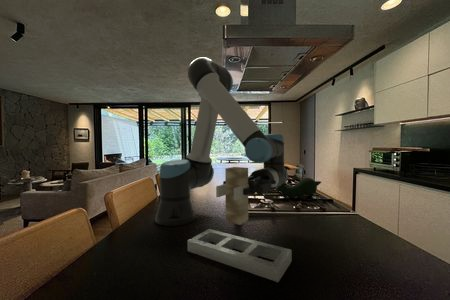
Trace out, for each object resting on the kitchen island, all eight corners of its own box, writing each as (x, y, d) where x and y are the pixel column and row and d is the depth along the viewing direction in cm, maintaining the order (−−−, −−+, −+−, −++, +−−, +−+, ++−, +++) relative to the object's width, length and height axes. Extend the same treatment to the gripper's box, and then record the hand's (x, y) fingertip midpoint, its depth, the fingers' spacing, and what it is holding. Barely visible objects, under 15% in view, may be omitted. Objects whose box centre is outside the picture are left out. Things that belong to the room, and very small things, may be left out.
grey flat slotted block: (187, 251, 61) (187, 240, 61) (209, 238, 70) (209, 228, 69) (278, 282, 47) (278, 268, 47) (291, 261, 55) (291, 249, 55)
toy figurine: (279, 203, 117) (326, 199, 118) (276, 167, 117) (323, 163, 117) (275, 199, 127) (318, 195, 127) (272, 166, 126) (315, 161, 127)
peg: (225, 221, 57) (225, 168, 57) (234, 217, 61) (233, 167, 61) (240, 225, 55) (240, 169, 55) (248, 219, 59) (248, 167, 58)
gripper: (289, 194, 68) (259, 214, 49) (240, 188, 78) (198, 203, 58) (290, 170, 68) (259, 180, 49) (240, 167, 78) (198, 175, 58)
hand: (226, 192), depth 53 cm, fingers closed on peg, 4 cm apart
